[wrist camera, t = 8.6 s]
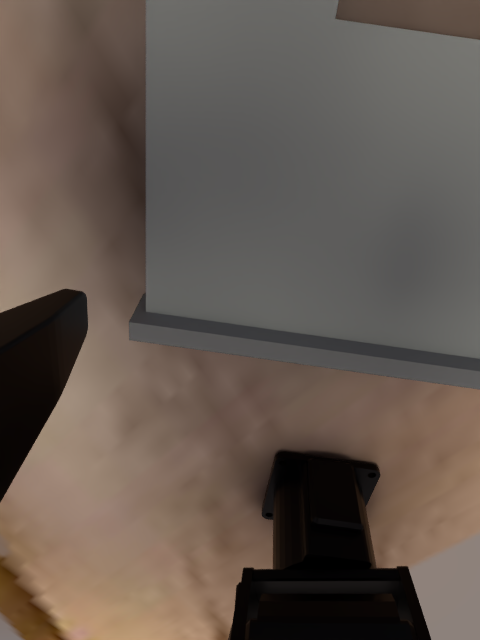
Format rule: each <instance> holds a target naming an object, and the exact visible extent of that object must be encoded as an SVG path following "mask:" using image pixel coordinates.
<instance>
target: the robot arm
mask: <svg viewBox="0 0 480 640" xmlns="http://www.w3.org/2000/svg"><path fill="white" fill-rule="evenodd" d="M87 330H88V314H87V297H86V294H85V293H84V292H82V291H77V290H71V289H63V290H60V291H57V292H55V293H52V294H49V295H47V296H44V297H41V298H39V299H36V300H33V301H31V302H28V303H25V304H23V305H20V306H17V307H15V308H12V309H10V310H7V311H4V312H2V313H0V502H1V500H2V499H3V497H4V495H5V493H6V492H7V490H8V488H9V486H10V485H11V483H12V481H13V479H14V478H15V476H16V474H17V472H18V471H19V469H20V467H21V465H22V464H23V462H24V460H25V458H26V457H27V455H28V453H29V451H30V450H31V448H32V446H33V444H34V443H35V441H36V439H37V437H38V436H39V434H40V432H41V430H42V429H43V427H44V425H45V423H46V422H47V420H48V418H49V416H50V415H51V413H52V411H53V409H54V408H55V406H56V404H57V402H58V400H59V398H60V396H61V394H62V392H63V390H64V388H65V386H66V383H67V381H68V378H69V376H70V373H71V371H72V369H73V366H74V364H75V361H76V359H77V357H78V354H79V352H80V349H81V347H82V345H83V342H84V340H85V337H86V334H87ZM379 477H380V471H379V468H378V467H377V466H376V465H372V464H365V463H358V462H351V461H344V460H336V459H329V458H322V457H315V456H308V455H301V454H294V453H286V452H280V453H278V454H276V456H275V459H274V463H273V467H272V471H271V475H270V479H269V483H268V487H267V491H266V495H265V499H264V503H263V507H262V516H263V517H264V518H266V519H271V520H273V569H254V568H243V574H242V581H241V582H239V584H238V585H237V587H236V600H235V611H234V617H233V623H232V627H231V631H230V634H229V638H228V640H431V637H430V634H429V631H428V628H427V625H426V622H425V619H424V616H423V612H422V609H421V606H420V603H419V600H418V597H417V594H416V591H415V588H414V584H413V581H412V578H411V575H410V572H409V569H408V566H397V568H377V567H376V562H375V556H374V551H373V545H372V540H371V535H370V529H369V524H368V518H367V513H366V505H367V503H368V501H369V499H370V497H371V494H372V492H373V490H374V488H375V486H376V484H377V482H378V479H379Z"/></svg>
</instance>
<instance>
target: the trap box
mask: <svg viewBox="0 0 480 640" xmlns="http://www.w3.org/2000/svg"><path fill="white" fill-rule="evenodd" d="M338 2H339V0H146V295H145V294H143V296H142V298H141V300H140V302H139V304H138V306H137V308H136V310H135V312H134V313H133V315H132V317H131V319H130V321H129V340H133V341H140V342H147V343H154V344H161V345H168V346H175V347H182V348H190V349H197V350H204V351H211V352H218V353H225V354H232V355H239V356H246V357H253V358H260V359H268V360H275V361H282V362H289V363H296V364H303V365H310V366H317V367H324V368H331V369H339V370H346V371H353V372H360V373H367V374H374V375H381V376H388V377H395V378H402V379H410V380H417V381H424V382H431V383H438V384H445V385H452V386H459V387H466V388H473V389H480V40H477V39H470V38H463V37H456V36H449V35H442V34H435V33H428V32H421V31H414V30H408V29H401V28H394V27H387V26H380V25H373V24H366V23H359V22H352V21H345V20H338V19H335V17H336V12H337V7H338Z"/></svg>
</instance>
